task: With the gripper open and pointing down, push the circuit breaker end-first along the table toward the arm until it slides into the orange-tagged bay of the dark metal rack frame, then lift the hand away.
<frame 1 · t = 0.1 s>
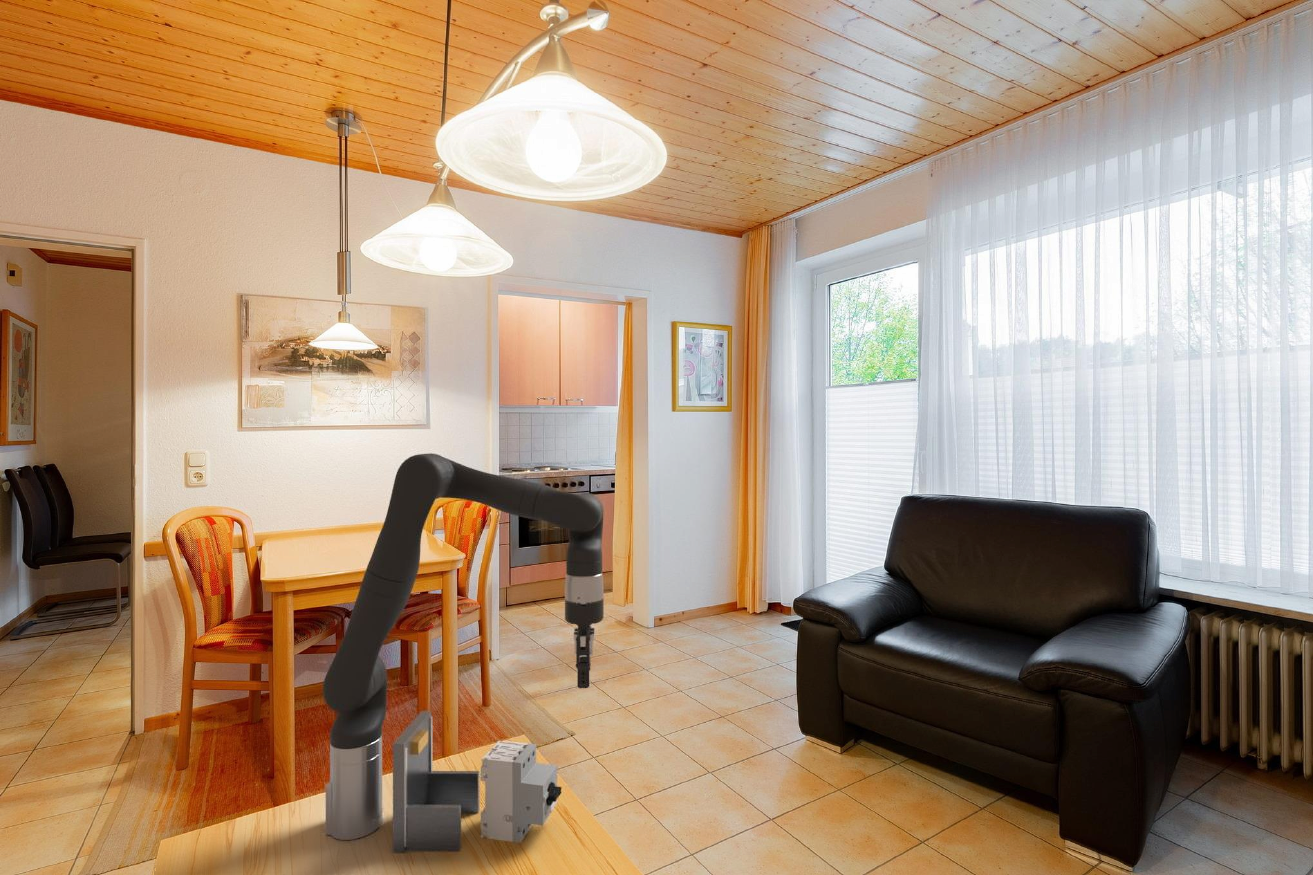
hand: (584, 678, 125), 29 cm above the table, tool pointing down, fingers open, 8 cm apart
circuit breaker: (523, 830, 124), on the table
rack: (433, 829, 124), on the table
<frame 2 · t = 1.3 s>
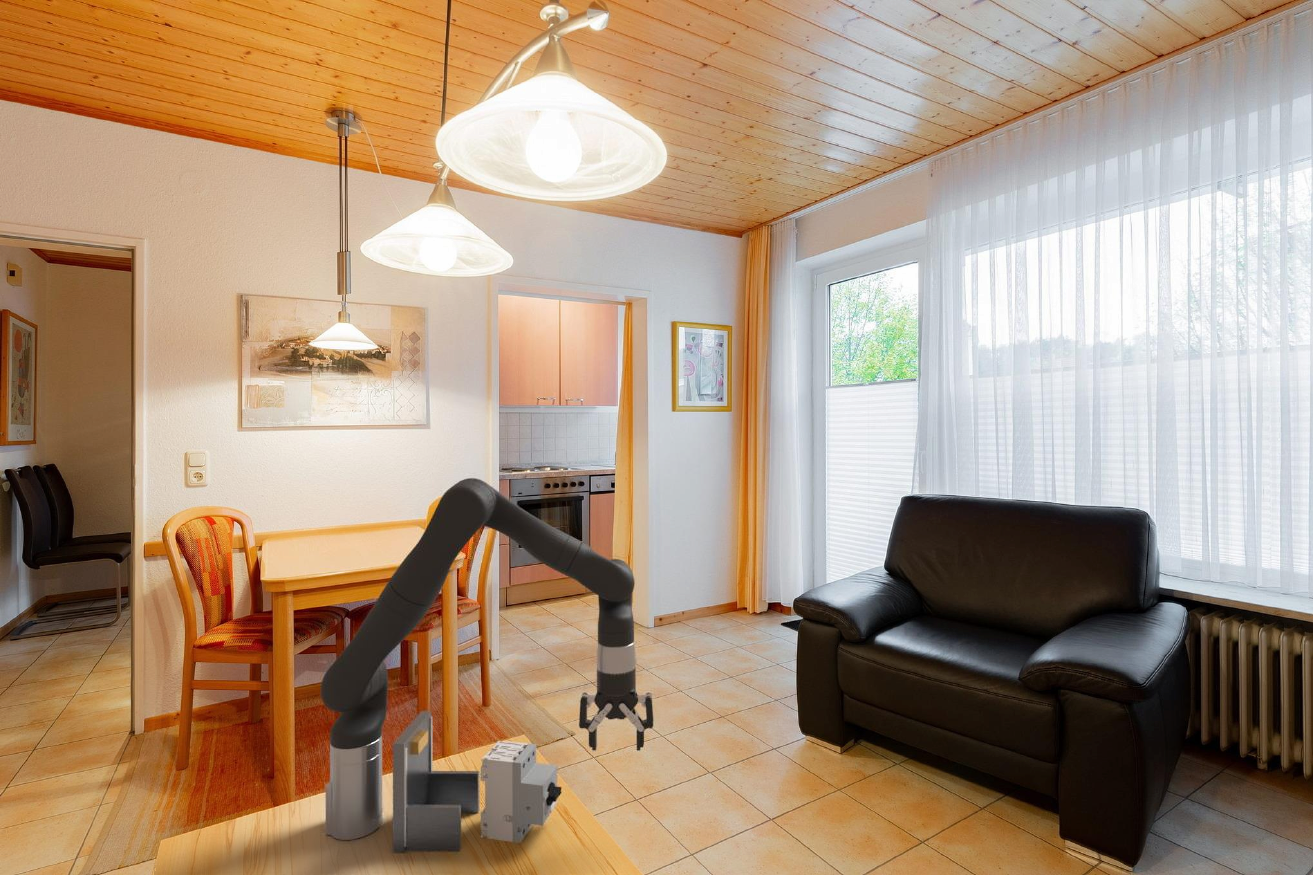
hand: (616, 748, 124), 16 cm above the table, tool pointing down, fingers open, 8 cm apart
nothing on the table moved.
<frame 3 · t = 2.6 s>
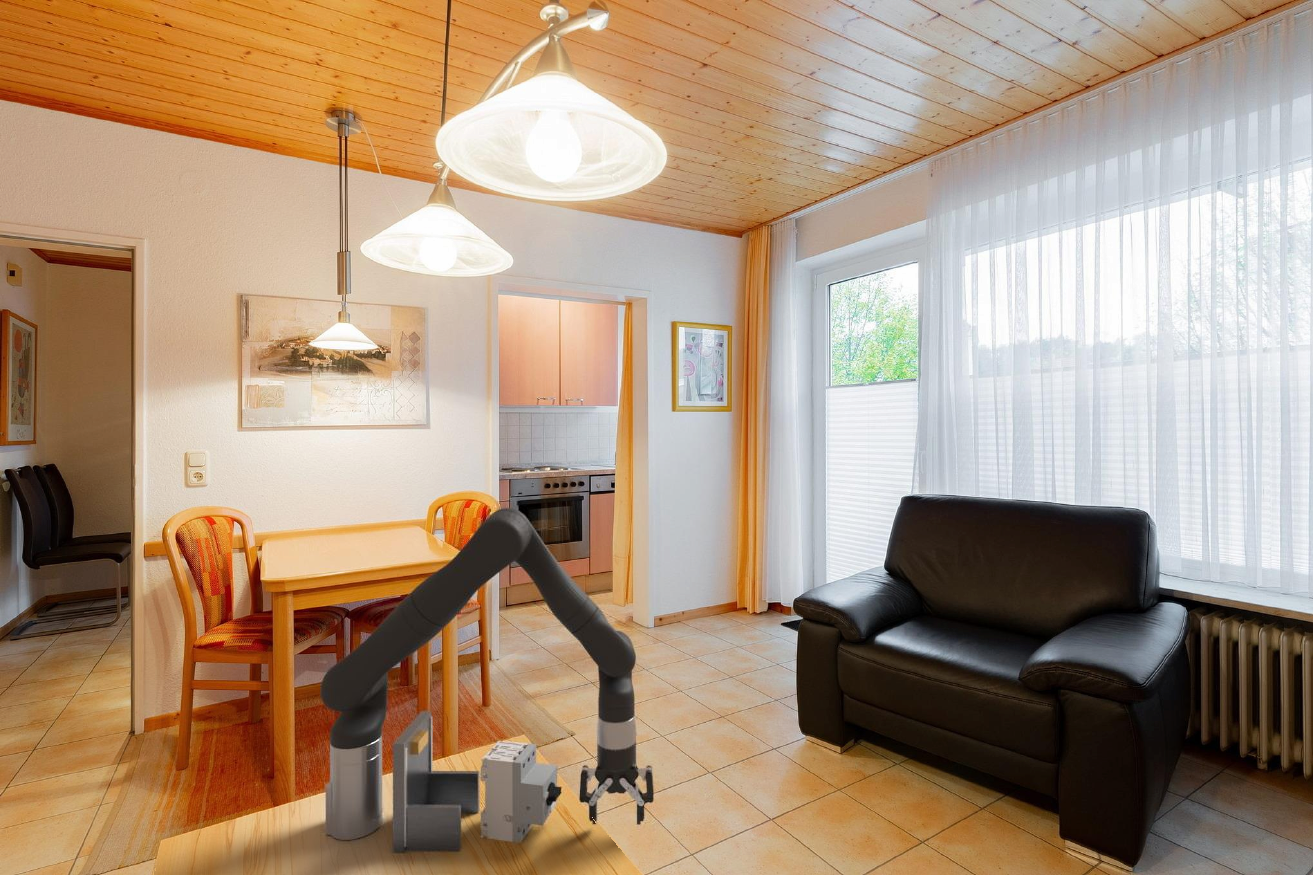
hand: (616, 822, 124), 2 cm above the table, tool pointing down, fingers open, 8 cm apart
nothing on the table moved.
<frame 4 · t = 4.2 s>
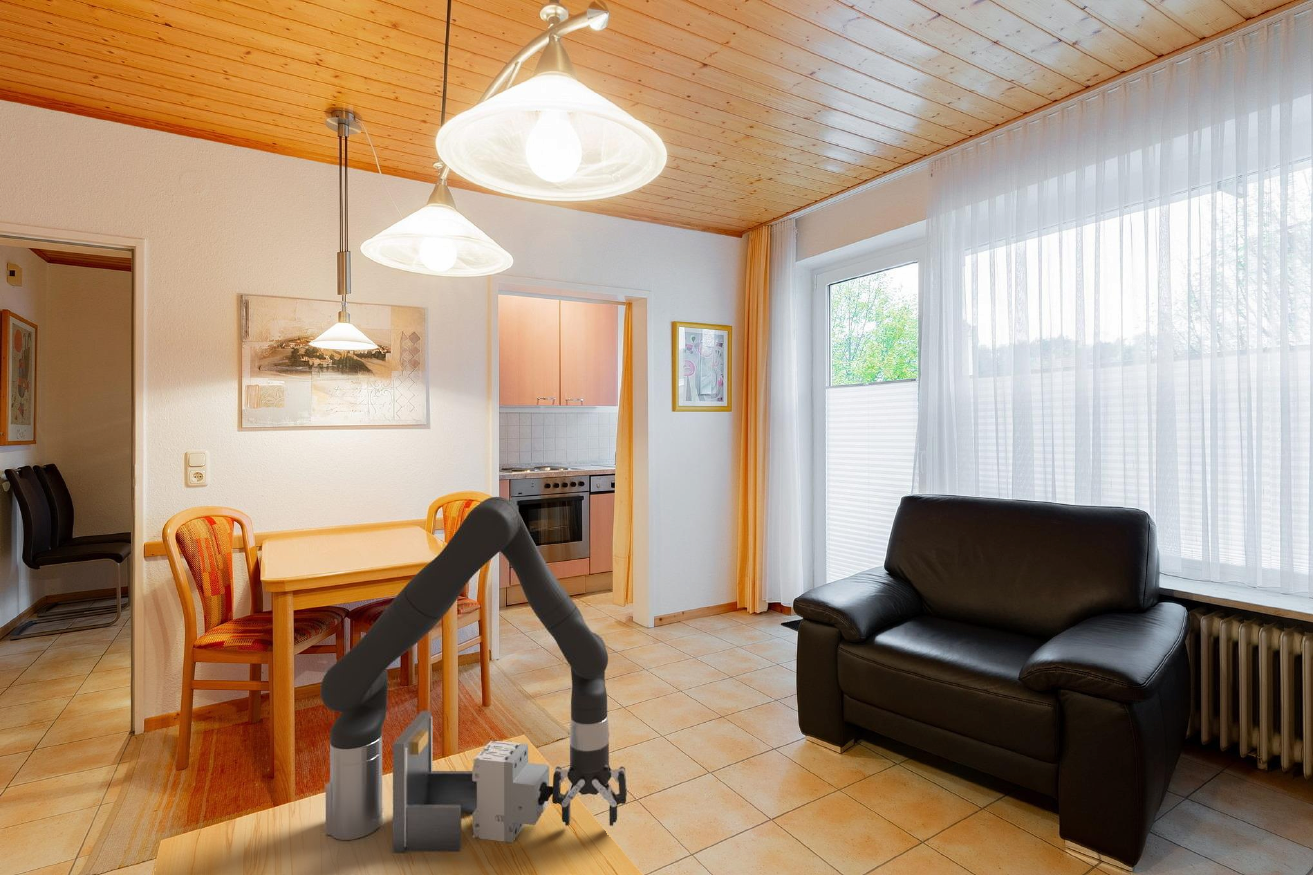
hand: (589, 823, 124), 1 cm above the table, tool pointing down, fingers open, 8 cm apart
circuit breaker: (515, 830, 124), on the table, touching hand
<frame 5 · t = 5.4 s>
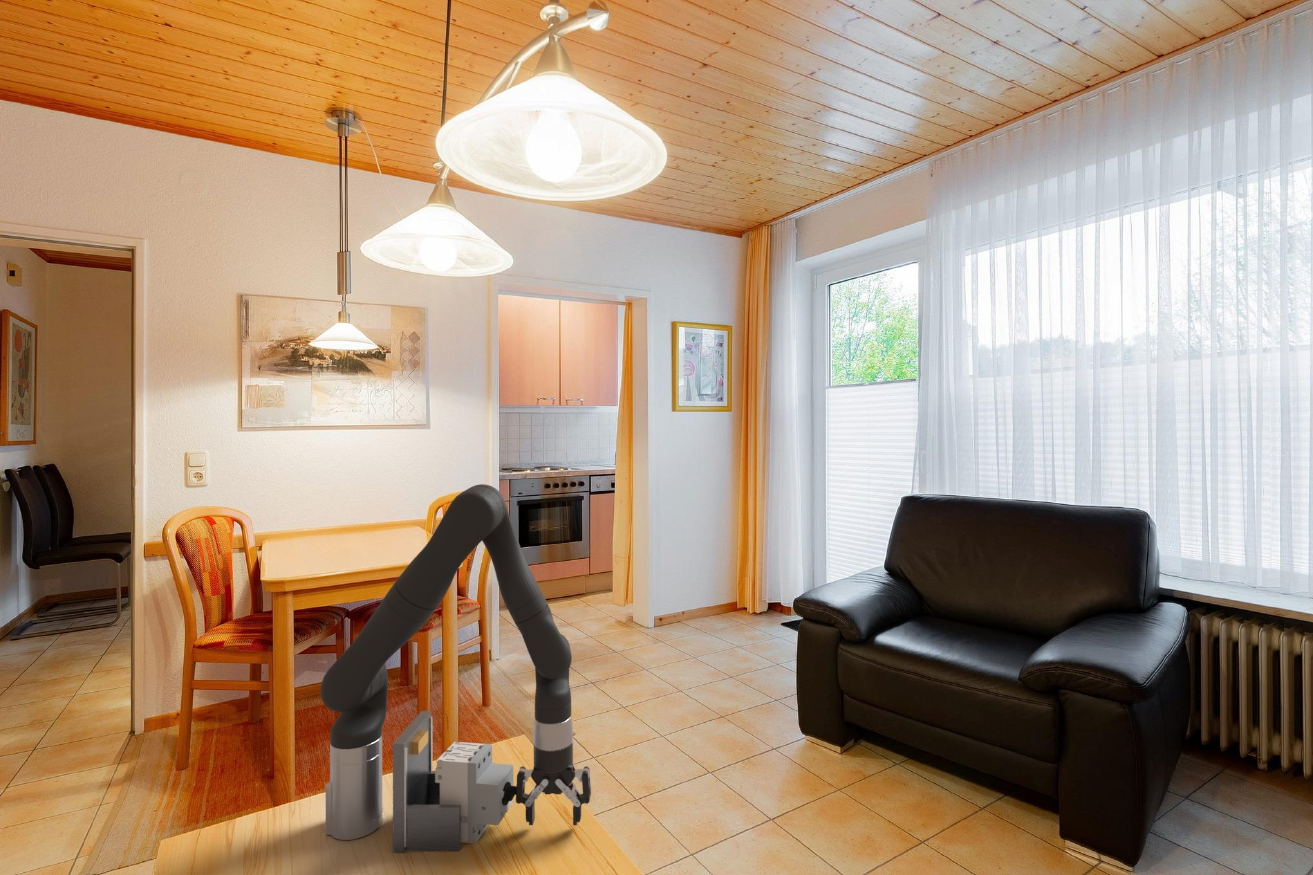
hand: (553, 822, 124), 1 cm above the table, tool pointing down, fingers open, 8 cm apart
circuit breaker: (479, 831, 124), on the table, touching hand
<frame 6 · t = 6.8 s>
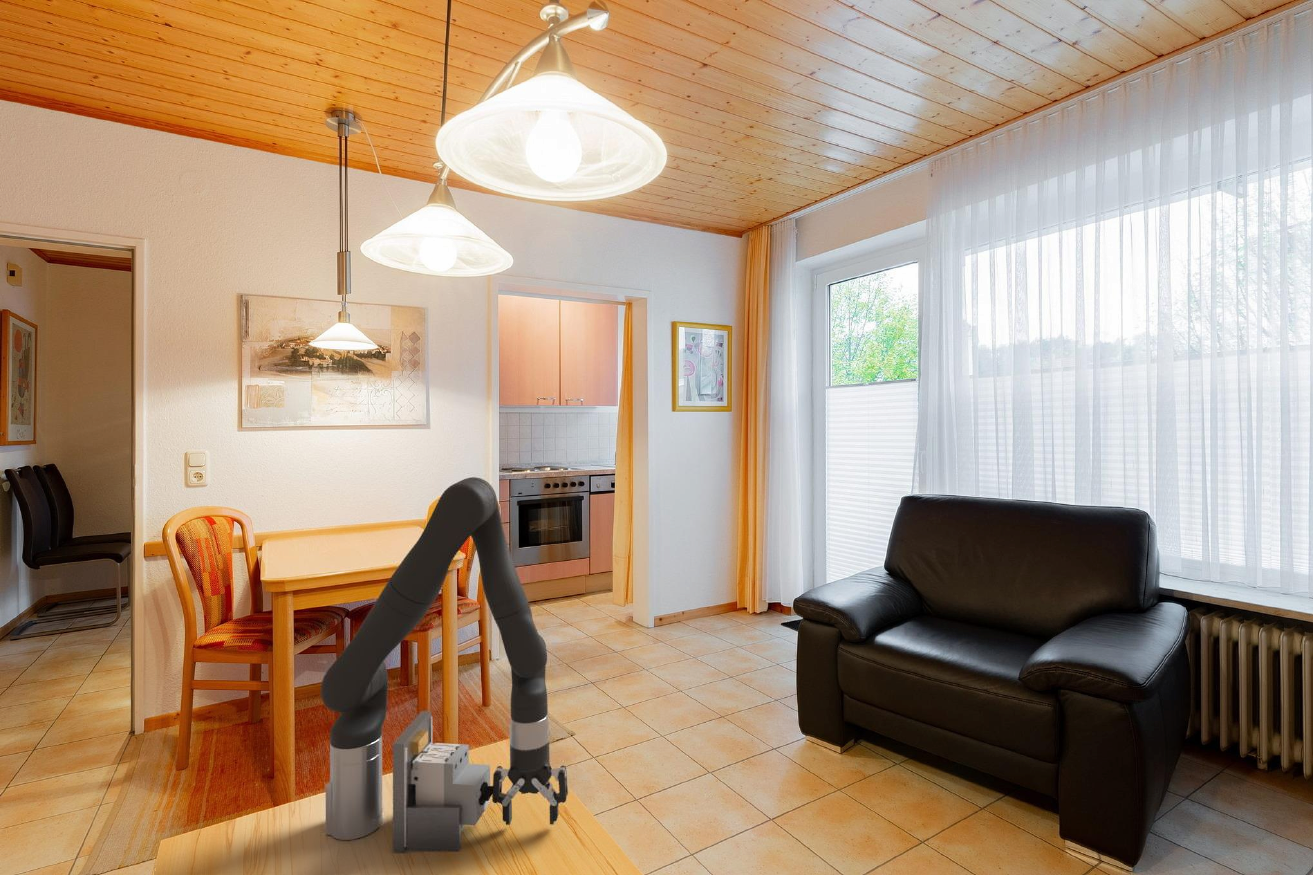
hand: (530, 822, 124), 1 cm above the table, tool pointing down, fingers open, 8 cm apart
circuit breaker: (455, 832, 124), on the table, touching hand, rack
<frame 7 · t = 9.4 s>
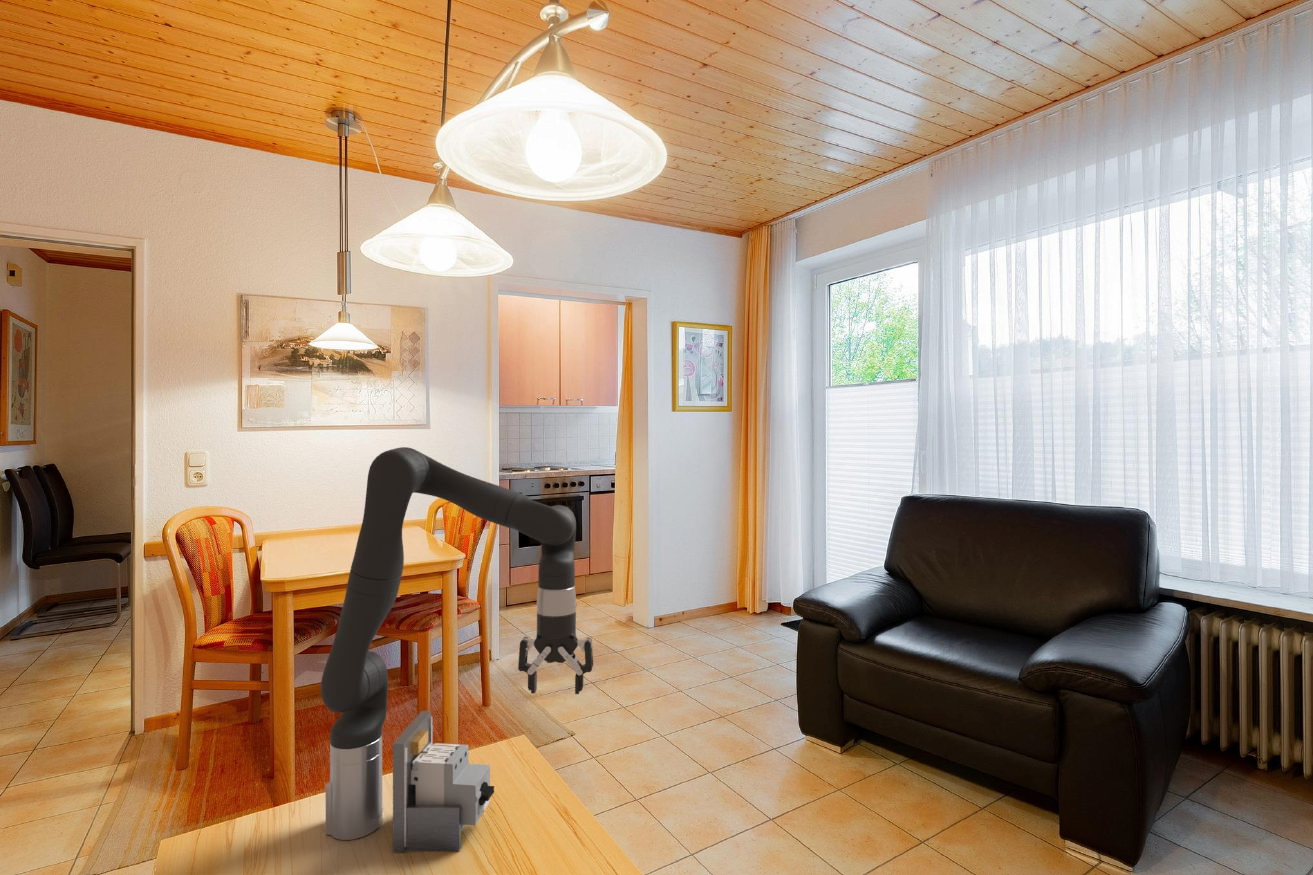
hand: (555, 692, 125), 26 cm above the table, tool pointing down, fingers open, 8 cm apart
circuit breaker: (455, 832, 124), on the table, touching rack
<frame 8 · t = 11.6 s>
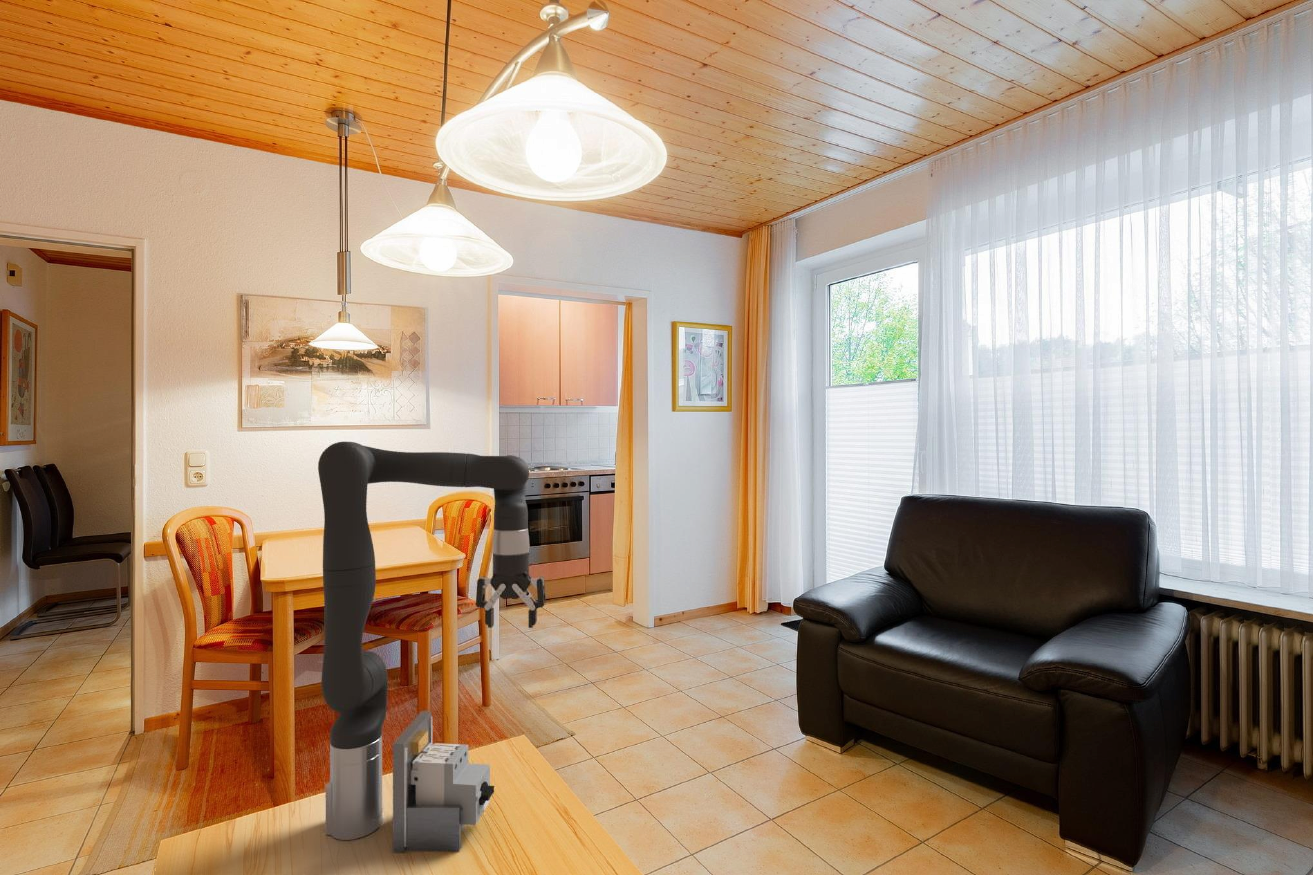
hand: (511, 626, 135), 36 cm above the table, tool pointing down, fingers open, 8 cm apart
circuit breaker: (455, 832, 124), on the table
at the end: circuit breaker inside the target area (0.8 cm from its centre), on the table; circuit breaker tilted 0°; circuit breaker moved 13.1 cm from its start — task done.
